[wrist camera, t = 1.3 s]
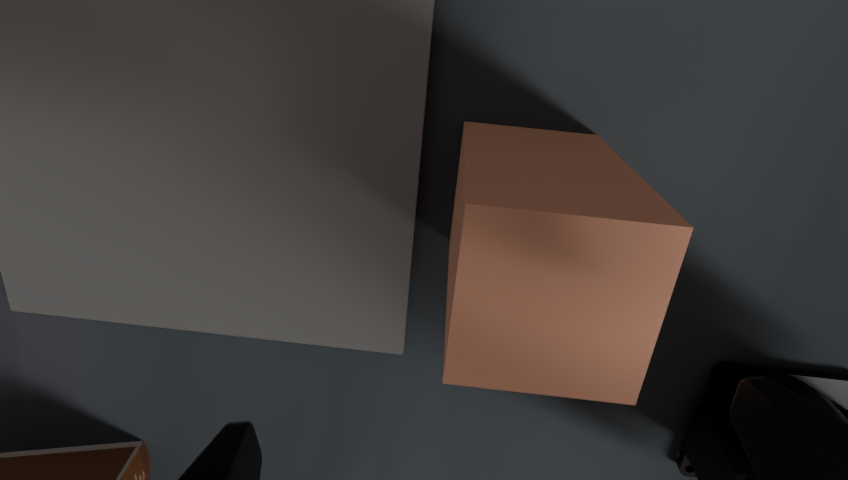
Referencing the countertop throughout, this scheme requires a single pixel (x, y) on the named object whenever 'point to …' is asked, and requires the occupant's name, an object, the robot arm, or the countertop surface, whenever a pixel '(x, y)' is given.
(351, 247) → the mat
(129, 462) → the food container
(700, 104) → the countertop surface
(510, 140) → the block
